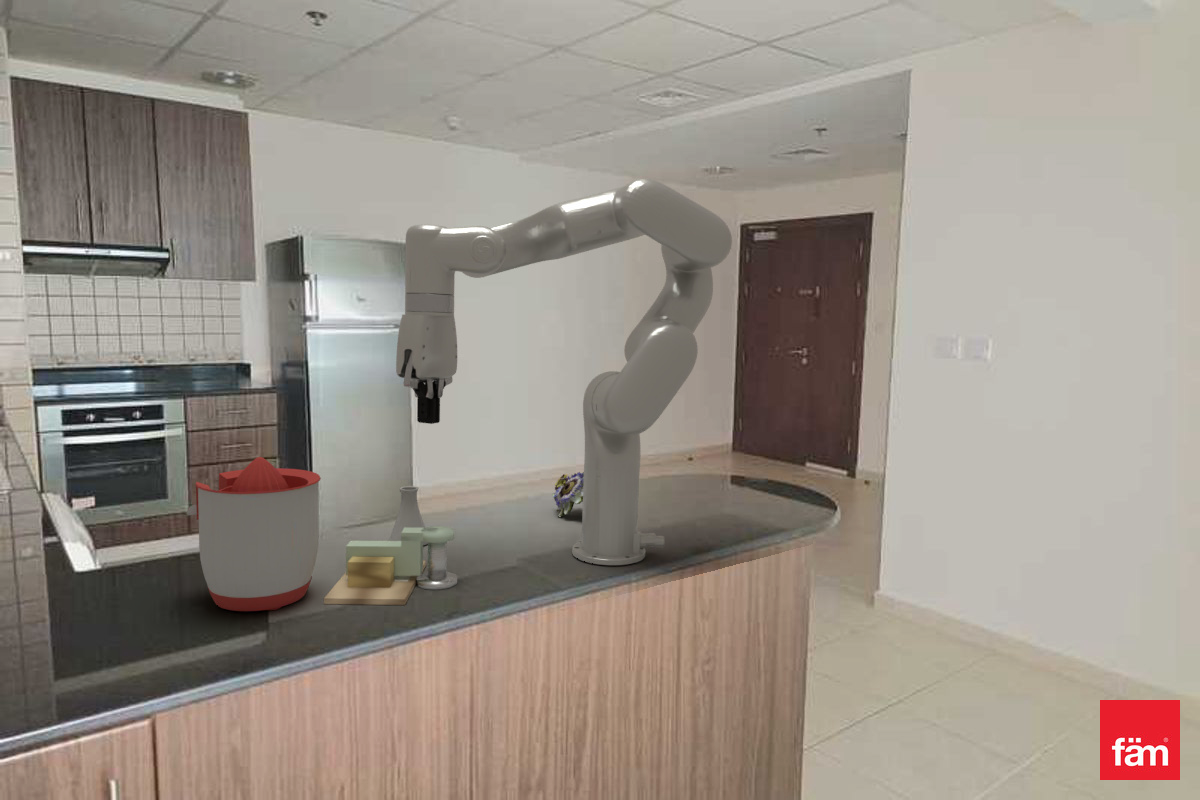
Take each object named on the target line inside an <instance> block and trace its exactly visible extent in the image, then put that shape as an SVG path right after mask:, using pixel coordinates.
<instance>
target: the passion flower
mask: <svg viewBox="0 0 1200 800" xmlns="http://www.w3.org/2000/svg"><path fill="white" fill-rule="evenodd" d="M583 484H584V471H583V472H582V473H581V472H580V471H579V472H577V473H574V474H571V476H569V475H568V473H567V474H565V473H563V474H562V475H561V476H560V477H559V478H558V479H557V480H556V482H555V483H554V490H555V492H554V493H552V494H551V496H552V497H553V499H554V501H555V505H556V506H557V509H556V511H557V512H559V513H558V515H557V517H558V516H563V517H564V516H568V515H569V514H570V513H571V512H572V510H573V509H574V508H573V507H574V505H575V504H576V505H579V504H581V503H583Z"/></svg>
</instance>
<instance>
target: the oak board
mask: <svg viewBox="0 0 1200 800" xmlns="http://www.w3.org/2000/svg"><path fill="white" fill-rule="evenodd" d="M426 566H427V560H423V570H422V573H421V574H423V573H424V569H425V568H426ZM417 577H418V576H394V557H371V556H352V558H351V559H350V560H349V561H348V575H346V572H345V573H343V575H341V577H340V579H338V581H337V582H336V583H335V584H334V586H333V587H332V588H331V589H330V590H329V592H327V594H326V595H325V596H324V598H323V605H373V606H374V605H377V606H378V605H385V606H386V605H389V606H390V605H391V606H405V605H406V604H407V602H408V600H409V598H410V597H411V594H412V592H413V591H414V588H415V587H416V586H417Z"/></svg>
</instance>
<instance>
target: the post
mask: <svg viewBox="0 0 1200 800" xmlns="http://www.w3.org/2000/svg"><path fill="white" fill-rule="evenodd" d="M447 562H448V542H442V543H430V542H428V544H427V572H422V574H421V575H420V576H418V577H417V583H416V586H417V587H418V588H420V589H423V590H429V591H432V590H433V591H438V590H439V591H440V590H447V589H450V588H453V587H455V586H457V583H458V575H457V574H455V573H453V572H451V571H448V570H447V567H448V566H447V565H448V563H447Z"/></svg>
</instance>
